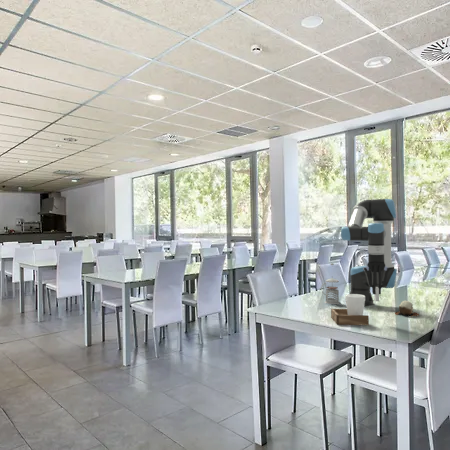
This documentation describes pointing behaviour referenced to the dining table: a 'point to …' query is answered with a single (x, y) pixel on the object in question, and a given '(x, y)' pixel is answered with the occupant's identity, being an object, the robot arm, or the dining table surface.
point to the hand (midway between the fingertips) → (376, 300)
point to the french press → (332, 290)
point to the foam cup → (355, 304)
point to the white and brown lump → (406, 309)
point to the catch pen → (348, 318)
